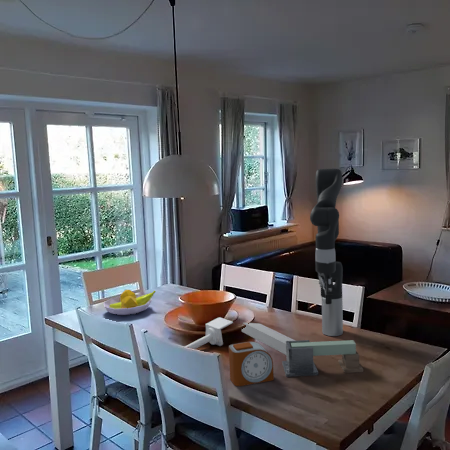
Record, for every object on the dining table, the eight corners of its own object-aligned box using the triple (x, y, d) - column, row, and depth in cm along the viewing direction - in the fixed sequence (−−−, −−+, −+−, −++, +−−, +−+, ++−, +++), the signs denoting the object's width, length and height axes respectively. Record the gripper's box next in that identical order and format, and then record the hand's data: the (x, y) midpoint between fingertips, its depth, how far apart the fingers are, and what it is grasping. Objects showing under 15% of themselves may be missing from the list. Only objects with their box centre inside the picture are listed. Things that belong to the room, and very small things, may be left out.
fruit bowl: (94, 318, 250) (92, 297, 248) (120, 303, 276) (118, 284, 274) (141, 321, 242) (140, 300, 240) (163, 305, 267) (162, 286, 266)
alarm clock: (235, 387, 166) (234, 351, 164) (228, 377, 174) (227, 343, 172) (274, 380, 170) (273, 345, 168) (265, 371, 178) (264, 337, 177)
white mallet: (232, 321, 207) (174, 351, 187) (235, 339, 209) (178, 371, 189) (219, 317, 214) (162, 345, 194) (222, 334, 216) (165, 364, 196)
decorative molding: (258, 333, 226) (241, 332, 221) (260, 323, 226) (243, 322, 221) (304, 356, 197) (286, 356, 191) (306, 345, 197) (288, 345, 191)
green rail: (291, 352, 179) (290, 342, 179) (353, 350, 179) (353, 340, 179) (292, 356, 176) (292, 346, 175) (355, 354, 176) (355, 343, 175)
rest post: (338, 362, 183) (338, 348, 182) (356, 361, 183) (356, 347, 182) (344, 372, 174) (344, 357, 173) (363, 372, 174) (363, 356, 173)
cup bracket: (282, 364, 184) (281, 339, 182) (312, 362, 184) (312, 338, 182) (286, 376, 173) (285, 351, 171) (318, 375, 173) (317, 349, 171)
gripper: (312, 255, 184) (312, 295, 187) (319, 264, 170) (320, 307, 173) (331, 254, 184) (331, 294, 187) (339, 263, 170) (340, 306, 173)
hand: (326, 300), depth 180 cm, fingers open, 8 cm apart
